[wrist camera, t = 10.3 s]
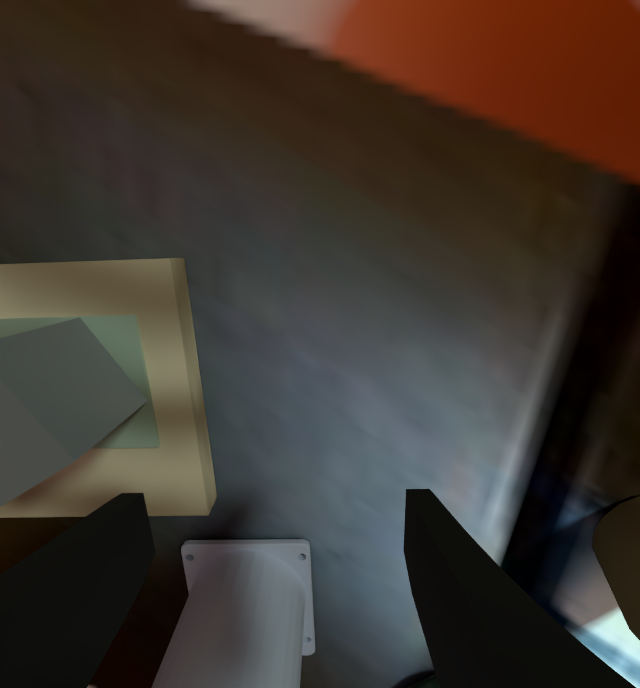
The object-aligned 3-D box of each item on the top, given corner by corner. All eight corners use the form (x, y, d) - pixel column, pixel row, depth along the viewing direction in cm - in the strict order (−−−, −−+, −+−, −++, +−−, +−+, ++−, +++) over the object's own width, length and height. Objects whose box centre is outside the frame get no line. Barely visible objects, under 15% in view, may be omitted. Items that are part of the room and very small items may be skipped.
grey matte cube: (147, 401, 17) (75, 461, 12) (74, 446, 18) (-21, 519, 13) (79, 317, 16) (-31, 346, 11) (5, 369, 16) (-128, 418, 12)
